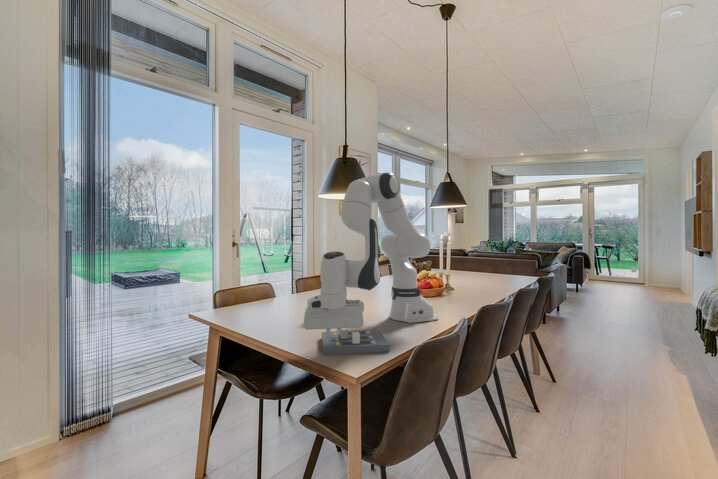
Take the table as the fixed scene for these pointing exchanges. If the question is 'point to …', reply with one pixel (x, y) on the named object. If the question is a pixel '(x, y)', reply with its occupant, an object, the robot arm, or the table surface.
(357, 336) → the breaker handle
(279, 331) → the table surface
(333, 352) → the breaker panel
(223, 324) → the table surface
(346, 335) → the breaker handle middle
